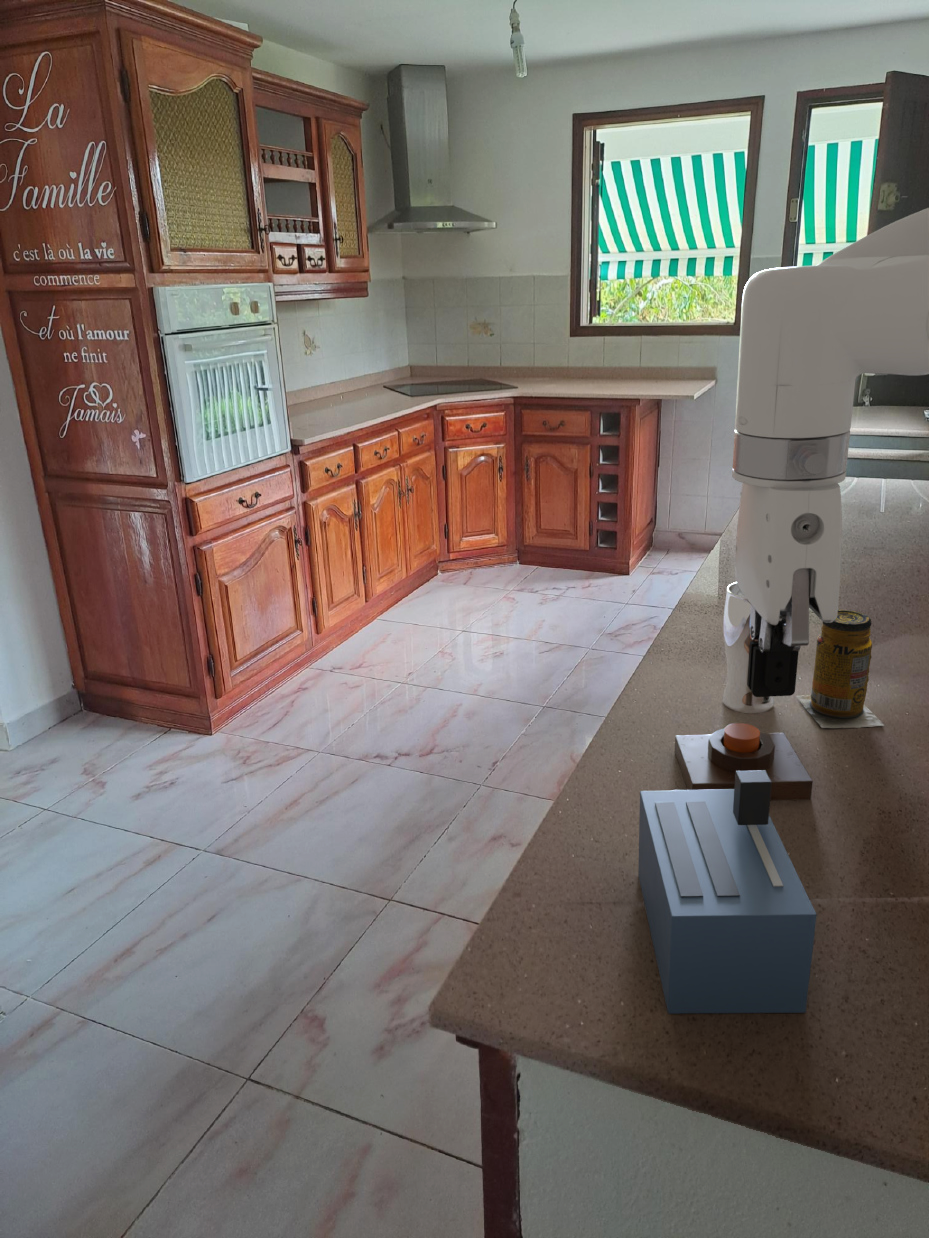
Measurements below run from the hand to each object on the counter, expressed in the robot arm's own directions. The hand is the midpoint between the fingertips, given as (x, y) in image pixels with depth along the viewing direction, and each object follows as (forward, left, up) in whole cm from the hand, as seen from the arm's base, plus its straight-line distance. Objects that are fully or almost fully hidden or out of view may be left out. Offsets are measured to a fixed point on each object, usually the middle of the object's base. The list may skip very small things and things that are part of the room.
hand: (770, 691), depth 68 cm
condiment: (-19, -34, -21) cm, 44 cm away
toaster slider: (+1, +1, -11) cm, 11 cm away
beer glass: (-9, -37, -21) cm, 43 cm away
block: (-4, -20, -20) cm, 29 cm away
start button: (-4, -21, -17) cm, 27 cm away
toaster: (+4, +4, -20) cm, 21 cm away
